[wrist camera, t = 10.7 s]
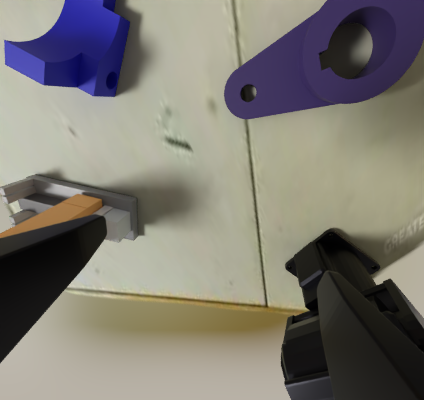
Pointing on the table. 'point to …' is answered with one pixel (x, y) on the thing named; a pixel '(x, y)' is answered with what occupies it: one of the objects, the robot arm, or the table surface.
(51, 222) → the orange block
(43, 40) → the cable clip
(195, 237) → the table surface
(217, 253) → the table surface
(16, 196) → the grey pronged base
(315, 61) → the lever
